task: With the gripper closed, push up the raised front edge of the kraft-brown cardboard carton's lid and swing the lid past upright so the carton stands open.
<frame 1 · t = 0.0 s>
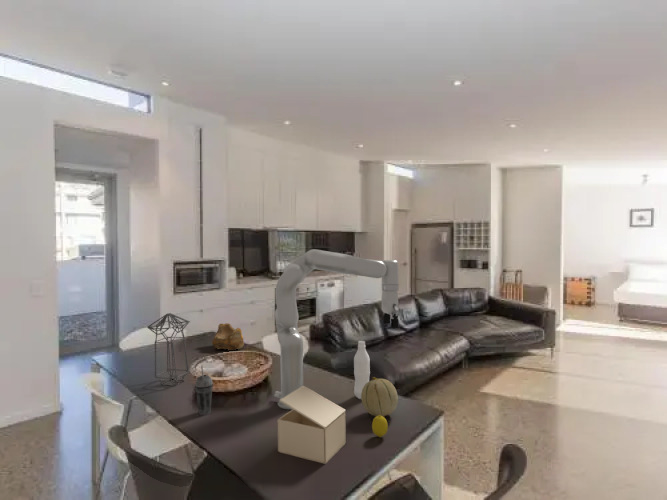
hand: (390, 325, 198), 31 cm above the table, tool pointing down, fingers open, 9 cm apart
cantaloupe: (379, 415, 176), on the table
geometric lantern: (170, 383, 219), on the table
beverage cup: (204, 413, 181), on the table
lemon: (380, 437, 157), on the table
rough brown rock: (225, 349, 284), on the table
water bottle: (362, 397, 196), on the table
carton: (312, 447, 150), on the table
carton lid: (313, 405, 149), point 15 cm above the table, hinge at 20.0°
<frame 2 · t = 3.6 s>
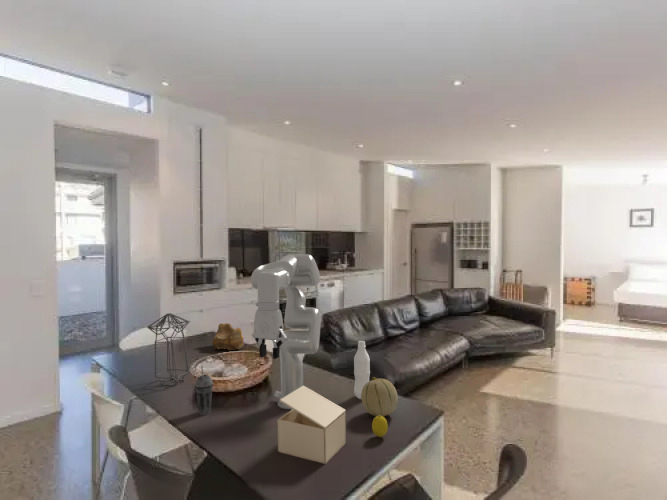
hand: (269, 356, 157), 29 cm above the table, tool pointing down, fingers open, 4 cm apart
nothing on the table moved.
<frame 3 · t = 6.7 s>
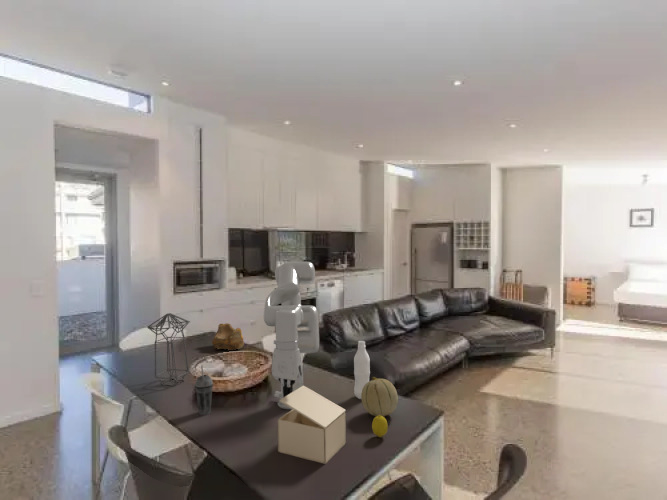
hand: (287, 396, 154), 16 cm above the table, tool pointing down, fingers closed
carton lid: (313, 405, 149), point 15 cm above the table, hinge at 20.0°, touching gripper
everything else where it was.
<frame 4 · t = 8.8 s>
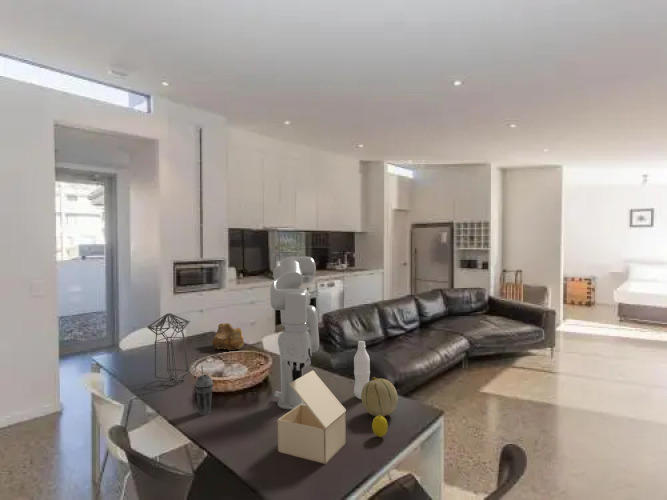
hand: (297, 380, 152), 22 cm above the table, tool pointing down, fingers closed
carton lid: (318, 397, 148), point 18 cm above the table, hinge at 43.6°, touching gripper
everything else where it was.
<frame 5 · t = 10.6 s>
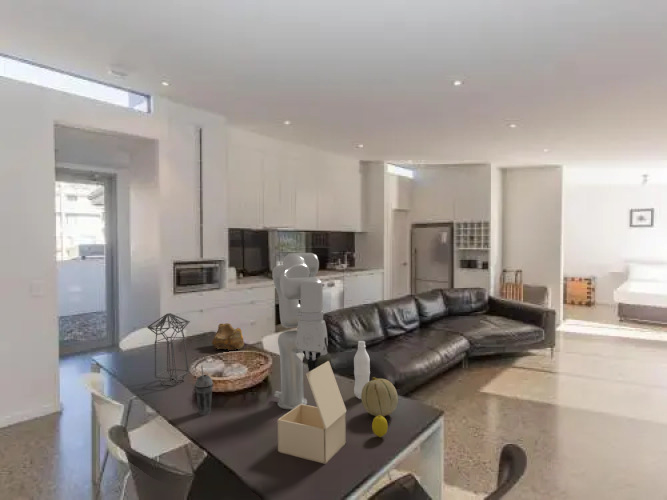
hand: (312, 370, 149), 27 cm above the table, tool pointing down, fingers closed
carton lid: (327, 393, 147), point 20 cm above the table, hinge at 68.2°, touching gripper
everything else where it was.
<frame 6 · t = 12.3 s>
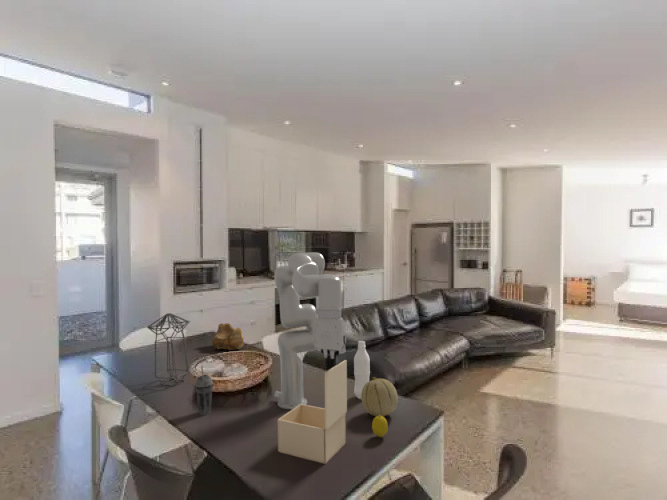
hand: (331, 369, 146), 28 cm above the table, tool pointing down, fingers closed
carton lid: (336, 393, 145), point 20 cm above the table, hinge at 90.7°, touching gripper
everything else where it was.
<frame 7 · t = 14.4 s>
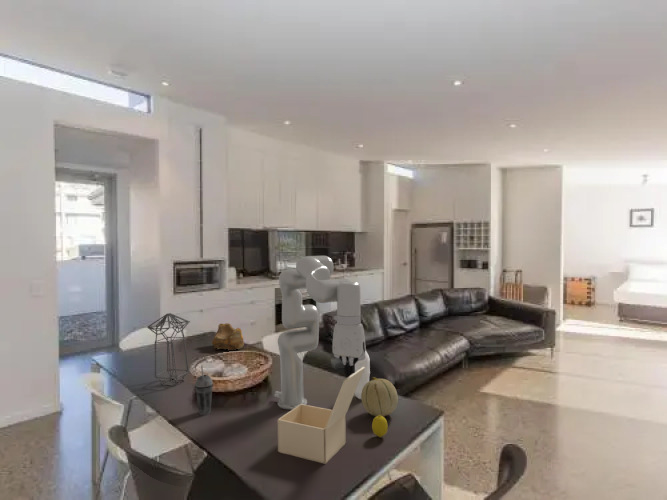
hand: (349, 376, 143), 27 cm above the table, tool pointing down, fingers closed
carton lid: (345, 397, 144), point 19 cm above the table, hinge at 112.9°, touching gripper
everything else where it was.
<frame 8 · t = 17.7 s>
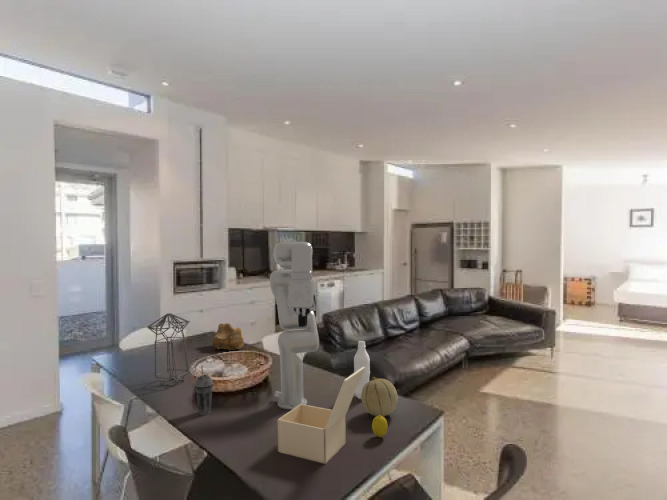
hand: (302, 326, 162), 39 cm above the table, tool pointing down, fingers closed
carton lid: (345, 397, 144), point 19 cm above the table, hinge at 112.9°
everything else where it was.
at the end: carton lid at +113° (first picture: +20°) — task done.
